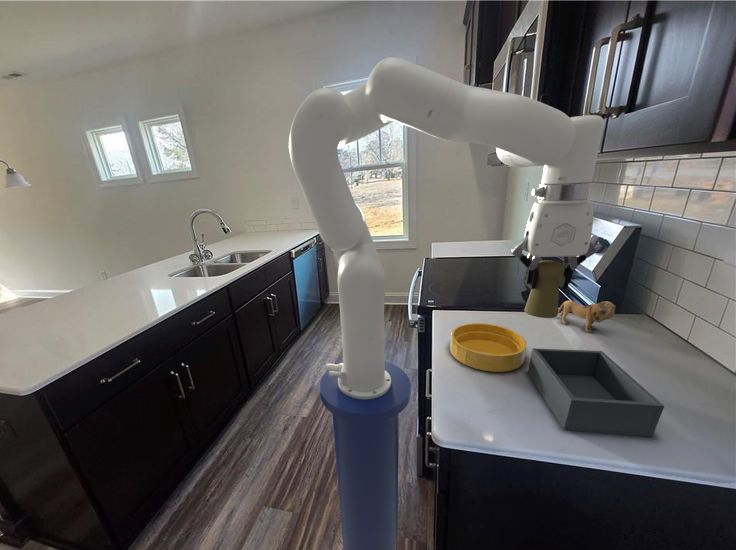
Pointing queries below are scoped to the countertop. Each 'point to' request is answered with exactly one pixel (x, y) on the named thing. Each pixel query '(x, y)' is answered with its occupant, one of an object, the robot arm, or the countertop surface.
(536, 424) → the countertop surface
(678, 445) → the countertop surface
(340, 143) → the robot arm
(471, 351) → the bowl
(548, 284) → the cork
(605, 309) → the lion figurine
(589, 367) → the bin
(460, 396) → the countertop surface
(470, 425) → the countertop surface
